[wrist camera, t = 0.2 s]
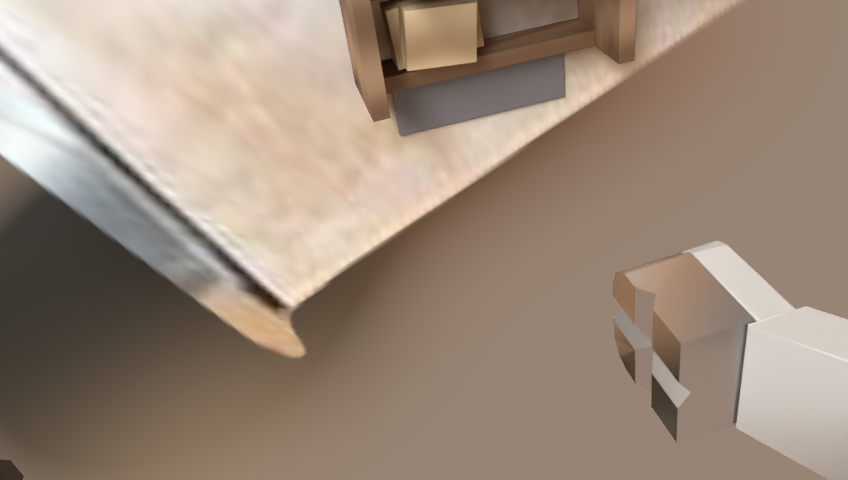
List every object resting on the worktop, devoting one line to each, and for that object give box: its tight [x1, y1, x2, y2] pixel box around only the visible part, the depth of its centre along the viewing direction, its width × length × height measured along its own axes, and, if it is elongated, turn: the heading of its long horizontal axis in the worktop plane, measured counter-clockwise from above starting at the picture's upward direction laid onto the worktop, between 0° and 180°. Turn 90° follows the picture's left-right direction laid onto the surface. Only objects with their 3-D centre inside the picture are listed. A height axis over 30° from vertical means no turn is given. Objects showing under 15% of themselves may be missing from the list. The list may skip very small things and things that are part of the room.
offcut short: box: [398, 0, 477, 71], centre depth 53 cm, size 4×5×2 cm
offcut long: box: [370, 0, 392, 60], centre depth 56 cm, size 4×8×2 cm, turn 98°
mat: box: [393, 53, 565, 136], centre depth 61 cm, size 4×14×1 cm, turn 98°
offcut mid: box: [380, 0, 484, 70], centre depth 55 cm, size 4×6×2 cm
